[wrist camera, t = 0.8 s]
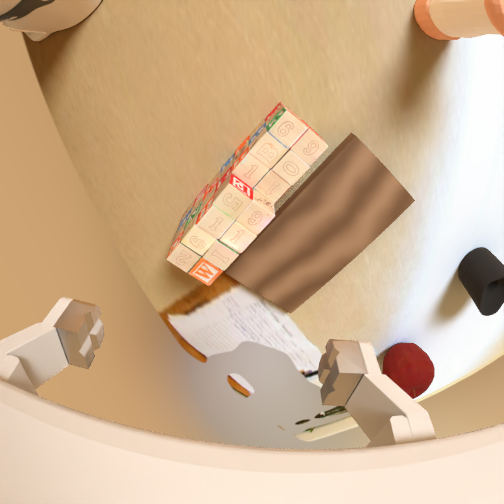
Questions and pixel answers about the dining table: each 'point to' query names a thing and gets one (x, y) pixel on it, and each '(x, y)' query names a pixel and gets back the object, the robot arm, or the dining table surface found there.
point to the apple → (409, 368)
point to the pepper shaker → (459, 18)
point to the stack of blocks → (244, 194)
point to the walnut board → (322, 226)
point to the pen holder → (483, 280)
